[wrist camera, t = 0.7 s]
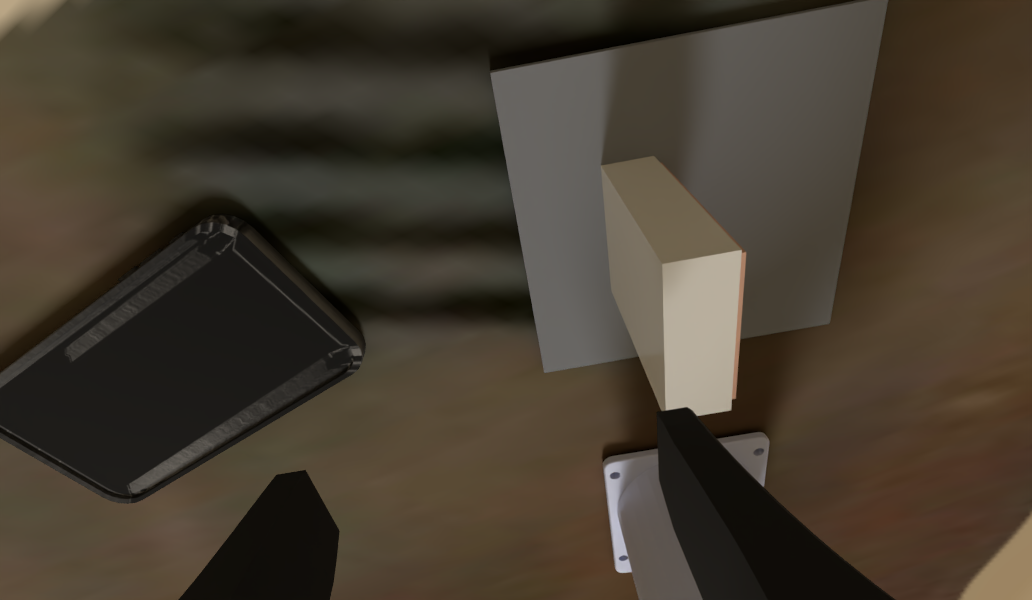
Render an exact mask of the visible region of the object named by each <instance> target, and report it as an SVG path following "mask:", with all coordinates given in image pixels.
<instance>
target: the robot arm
mask: <svg viewBox="0 0 1032 600" xmlns="http://www.w3.org/2000/svg"><path fill="white" fill-rule="evenodd" d="M657 438H658V449H652V450H646V451H640V452H634V453H628V454H622V455H616V456H611V457H608V458H607V459H605V460H604V462H603V472H604V480H605V488H606V497H607V505H608V514H609V522H610V531H611V539H612V547H613V556H614V564H615V568H616V571H618V572H620V573H627V572H632V574H633V578H634V582H635V586H636V590H637V593H638V597H639V600H895V599H894V598H892V597H891V596H890V595H888V594H887V593H886V592H885V591H883V590H882V589H881V588H879V587H878V586H877V585H875V584H874V583H873V582H871V581H870V580H869V579H868V578H866V577H865V576H864V575H863V574H861V573H860V572H859V571H858V570H856V569H855V568H854V567H853V566H851V565H850V564H849V563H848V562H846V561H845V560H844V559H843V558H842V557H840V556H839V555H838V554H837V553H836V552H834V551H833V550H832V549H831V548H830V547H828V546H827V545H826V544H825V543H824V542H823V541H821V540H820V539H819V538H818V537H817V536H816V535H814V534H813V533H812V532H811V531H810V530H809V529H808V528H807V527H806V526H804V525H803V524H802V523H801V522H800V521H799V520H798V519H797V518H795V517H794V516H793V515H792V514H791V513H790V512H789V511H788V510H787V509H786V508H785V507H784V506H782V505H781V504H780V503H779V502H778V501H777V500H776V499H775V498H774V497H773V496H772V495H771V494H770V493H769V492H768V491H767V490H766V489H765V488H764V482H765V474H766V466H767V458H768V450H769V443H770V442H769V439H768V437H767V436H766V434H765V433H762V432H755V433H749V434H743V435H737V436H731V437H725V438H719V439H717V438H716V437H715V436H714V435H713V434H712V433H711V432H710V430H709V429H708V428H707V427H706V426H705V425H704V424H703V422H702V421H701V420H700V419H699V418H698V416H697V415H696V414H695V413H694V412H693V410H691V409H690V408H688V407H684V408H678V409H672V410H666V411H660V412H657ZM614 472H615V473H614ZM338 540H339V529H338V527H337V526H336V524H335V522H334V520H333V519H332V517H331V515H330V513H329V511H328V510H327V508H326V506H325V504H324V502H323V501H322V499H321V497H320V495H319V493H318V492H317V490H316V488H315V486H314V484H313V483H312V481H311V479H310V477H309V476H308V474H307V472H306V470H303V471H297V472H291V473H285V474H279V475H276V476H275V477H274V479H273V480H272V481H271V482H270V484H269V485H268V486H267V488H266V489H265V490H264V491H263V493H262V494H261V495H260V497H259V498H258V499H257V501H256V502H255V503H254V505H253V506H252V507H251V508H250V510H249V511H248V512H247V514H246V515H245V516H244V518H243V519H242V520H241V522H240V523H239V524H238V526H237V527H236V528H235V530H234V531H233V532H232V533H231V535H230V536H229V537H228V539H227V540H226V541H225V542H224V544H223V545H222V546H221V548H220V549H219V550H218V551H217V553H216V554H215V555H214V557H213V558H212V559H211V560H210V562H209V563H208V564H207V565H206V567H205V568H204V569H203V571H202V572H201V573H200V574H199V576H198V577H197V578H196V579H195V581H194V582H193V583H192V584H191V585H190V587H189V588H188V589H187V590H186V591H185V593H184V594H183V595H182V596H181V597H180V599H179V600H330V596H331V591H332V587H333V582H334V575H335V567H336V559H337V550H338Z"/></svg>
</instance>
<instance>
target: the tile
mask: <svg viewBox="0 0 1032 600" xmlns="http://www.w3.org/2000/svg"><path fill="white" fill-rule="evenodd" d="M601 175H602V187H603V199H604V210H605V222H606V234H607V246H608V258H609V270H610V282H611V291H612V294H613V296H614V298H615V301H616V303H617V305H618V308H619V310H620V313H621V315H622V317H623V320H624V322H625V325H626V327H627V329H628V332H629V334H630V337H631V339H632V341H633V344H634V346H635V349H636V351H637V353H638V356H639V358H640V361H641V363H642V365H643V368H644V370H645V373H646V375H647V377H648V380H649V382H650V384H651V387H652V389H653V392H654V394H655V396H656V399H657V401H658V404H659V406H660V408H661V411H666V410H672V409H678V408H684V407H688V408H690V409H691V410H693V412H694V413H695V414H696V415H697V416H700V415H706V414H712V413H718V412H724V411H730V410H731V404H732V399H736V388H737V375H738V361H739V347H740V333H741V319H742V305H743V292H744V278H745V264H746V251H745V250H744V249H743V248H742V247H741V246H740V245H739V244H738V243H737V242H736V241H735V240H734V238H733V237H732V236H731V235H730V234H729V233H728V232H727V231H726V230H725V229H724V228H723V227H722V226H721V225H720V224H719V223H718V222H717V220H716V219H715V218H714V217H713V216H712V215H711V214H710V213H709V212H708V211H707V210H706V209H705V208H704V207H703V206H702V205H701V203H700V202H699V201H698V200H697V199H696V198H695V197H694V196H693V195H692V194H691V193H690V192H689V191H688V190H687V189H686V188H685V186H684V185H683V184H682V183H681V182H680V181H679V180H678V179H677V178H676V177H675V176H674V175H673V174H672V173H671V172H670V171H669V170H668V168H667V167H666V166H665V165H664V164H663V163H662V162H661V163H660V162H659V161H658V160H657V159H656V157H655V156H650V157H644V158H639V159H634V160H628V161H623V162H617V163H612V164H607V165H601Z"/></svg>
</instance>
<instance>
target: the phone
mask: <svg viewBox="0 0 1032 600" xmlns="http://www.w3.org/2000/svg"><path fill="white" fill-rule="evenodd" d="M169 244H170V245H168V246H167V247H166V248H164V249H163V250H161V249H158V250H157V251H156V252H154V253H153V254H152V255H150V256H149V257H148V258H146V259H145V260H144V261H143V262H141V263H140V264H139V265H140V267H139V268H137V267H136V266H135V267H134V268H132V269H131V270H130V271H128V272H127V273H126V274H124V275H123V276H122V277H120V278H119V279H118V281H120V282H119V283H118V284H117V285H115V286H114V287H113V288H111V289H110V290H109V291H107V292H106V293H105V294H103V295H102V296H101V297H99V298H98V299H97V300H95V301H94V302H93V303H91V304H90V305H89V306H88V307H86V308H85V309H84V310H82V311H81V312H80V313H78V314H77V315H76V316H74V317H73V318H72V319H70V320H69V321H68V322H66V323H65V324H64V325H62V326H61V327H60V328H58V329H57V330H56V331H54V332H53V333H52V334H50V335H49V336H48V337H46V338H45V339H44V340H43V341H41V342H40V343H39V344H37V345H36V346H35V347H33V348H32V349H31V350H29V351H28V352H27V353H25V354H24V355H23V356H21V357H20V358H19V359H17V360H16V361H15V362H13V363H12V364H11V365H9V366H8V367H7V368H5V369H4V370H3V371H2V372H0V438H1V439H3V440H4V441H6V442H8V443H10V444H11V445H13V446H15V447H17V448H18V449H20V450H22V451H23V452H25V453H27V454H29V455H30V456H32V457H34V458H36V459H37V460H39V461H41V462H43V463H44V464H46V465H48V466H50V467H51V468H53V469H55V470H56V471H58V472H60V473H62V474H63V475H65V476H67V477H69V478H70V479H72V480H74V481H75V482H77V483H79V484H81V485H82V486H84V487H86V488H88V489H89V490H91V491H93V492H95V493H96V494H98V495H100V496H101V497H103V498H106V499H108V500H110V501H114V502H117V503H127V504H128V503H136V502H138V501H141V500H143V499H145V498H146V497H148V496H150V495H151V494H153V493H155V492H156V491H158V490H160V489H161V488H163V487H165V486H166V485H168V484H170V483H171V482H173V481H175V480H176V479H178V478H180V477H181V476H183V475H185V474H186V473H188V472H190V471H191V470H193V469H195V468H196V467H198V466H200V465H201V464H203V463H205V462H206V461H208V460H210V459H212V458H213V457H215V456H217V455H218V454H220V453H222V452H223V451H225V450H227V449H228V448H230V447H232V446H233V445H235V444H237V443H238V442H240V441H242V440H243V439H245V438H247V437H248V436H250V435H252V434H253V433H255V432H257V431H258V430H260V429H262V428H263V427H265V426H267V425H268V424H270V423H272V422H273V421H275V420H277V419H278V418H280V417H282V416H283V415H285V414H287V413H288V412H290V411H292V410H293V409H295V408H297V407H298V406H300V405H302V404H303V403H305V402H307V401H308V400H310V399H312V398H313V397H315V396H317V395H318V394H320V393H322V392H323V391H325V390H327V389H328V388H330V387H332V386H333V385H335V384H337V383H338V382H340V381H342V380H343V379H345V378H347V377H348V376H350V375H352V374H353V373H354V372H356V371H357V370H358V369H359V367H360V365H361V363H362V360H363V357H364V353H365V346H366V344H365V340H364V337H363V336H362V334H361V333H360V332H359V330H358V329H357V328H355V327H354V326H353V325H352V324H351V323H350V322H349V321H348V320H347V319H346V318H345V317H344V316H343V315H342V314H341V313H340V312H339V311H338V310H337V309H336V308H335V307H334V306H333V305H332V304H331V303H330V302H329V301H328V300H327V299H326V298H325V297H324V296H323V295H322V294H321V293H320V292H319V291H318V290H317V289H316V288H315V287H313V286H312V285H311V284H310V283H309V282H308V281H307V280H306V279H305V278H304V277H303V276H302V275H301V274H300V273H299V272H298V271H297V270H296V269H295V268H294V267H293V266H292V265H291V264H290V263H289V262H288V261H287V260H286V259H285V258H284V257H283V256H282V255H281V254H280V253H279V252H278V251H277V250H276V249H275V248H274V247H272V246H271V245H270V244H269V243H268V242H267V241H266V240H265V239H264V238H263V237H262V236H261V235H260V234H259V233H258V232H257V231H256V230H255V229H254V228H253V227H252V226H250V225H249V224H248V223H246V222H245V221H244V220H242V219H239V218H237V217H235V216H231V215H225V214H217V215H211V216H209V217H207V218H205V219H203V220H201V221H200V222H199V223H197V224H196V225H195V226H193V227H192V228H191V229H189V230H188V231H187V232H185V233H184V234H183V233H180V234H179V235H178V236H176V237H175V238H174V239H172V240H171V241H170V242H169Z"/></svg>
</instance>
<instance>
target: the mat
mask: <svg viewBox="0 0 1032 600" xmlns="http://www.w3.org/2000/svg"><path fill="white" fill-rule="evenodd" d="M887 4H888V0H856V1H851V2H846V3H841V4H836V5H830V6H825V7H820V8H815V9H810V10H804V11H799V12H794V13H789V14H783V15H778V16H773V17H768V18H763V19H757V20H752V21H747V22H742V23H737V24H731V25H726V26H721V27H716V28H710V29H705V30H700V31H695V32H690V33H684V34H679V35H674V36H669V37H664V38H658V39H653V40H648V41H643V42H638V43H632V44H627V45H622V46H617V47H611V48H606V49H601V50H596V51H591V52H585V53H580V54H575V55H570V56H565V57H559V58H554V59H549V60H544V61H538V62H533V63H528V64H523V65H518V66H512V67H507V68H502V69H497V70H492V71H490V74H491V80H492V86H493V91H494V97H495V102H496V108H497V113H498V119H499V124H500V130H501V135H502V141H503V146H504V152H505V157H506V163H507V169H508V174H509V180H510V185H511V191H512V196H513V202H514V207H515V213H516V218H517V224H518V229H519V235H520V241H521V246H522V252H523V257H524V263H525V268H526V274H527V279H528V285H529V290H530V296H531V301H532V307H533V313H534V318H535V324H536V329H537V335H538V340H539V346H540V351H541V357H542V362H543V368H544V373H547V372H552V371H558V370H564V369H570V368H576V367H582V366H587V365H593V364H599V363H605V362H611V361H616V360H622V359H628V358H634V357H639V356H638V353H637V351H636V349H635V346H634V344H633V341H632V339H631V337H630V334H629V332H628V329H627V327H626V325H625V322H624V320H623V317H622V315H621V313H620V310H619V308H618V305H617V303H616V301H615V298H614V296H613V294H612V291H611V282H610V270H609V258H608V246H607V234H606V222H605V210H604V199H603V187H602V175H601V165H607V164H612V163H617V162H623V161H628V160H634V159H639V158H644V157H650V156H655V157H656V159H657V160H658V161H659V162H660V163H661V162H662V163H663V164H664V165H665V166H666V167H667V168H668V170H669V171H670V172H671V173H672V174H673V175H674V176H675V177H676V178H677V179H678V180H679V181H680V182H681V183H682V184H683V185H684V186H685V188H686V189H687V190H688V191H689V192H690V193H691V194H692V195H693V196H694V197H695V198H696V199H697V200H698V201H699V202H700V203H701V205H702V206H703V207H704V208H705V209H706V210H707V211H708V212H709V213H710V214H711V215H712V216H713V217H714V218H715V219H716V220H717V222H718V223H719V224H720V225H721V226H722V227H723V228H724V229H725V230H726V231H727V232H728V233H729V234H730V235H731V236H732V237H733V238H734V240H735V241H736V242H737V243H738V244H739V245H740V246H741V247H742V248H743V249H744V250H745V251H746V264H745V278H744V292H743V305H742V319H741V333H740V339H744V338H750V337H756V336H762V335H768V334H773V333H779V332H785V331H791V330H797V329H802V328H808V327H814V326H820V325H826V324H830V319H831V313H832V308H833V302H834V297H835V291H836V286H837V280H838V275H839V269H840V264H841V258H842V252H843V247H844V241H845V236H846V230H847V225H848V219H849V214H850V208H851V203H852V197H853V192H854V186H855V181H856V175H857V170H858V164H859V159H860V153H861V148H862V142H863V137H864V131H865V125H866V120H867V114H868V109H869V103H870V98H871V92H872V87H873V81H874V76H875V70H876V65H877V59H878V54H879V48H880V43H881V37H882V32H883V26H884V21H885V15H886V10H887Z"/></svg>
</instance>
